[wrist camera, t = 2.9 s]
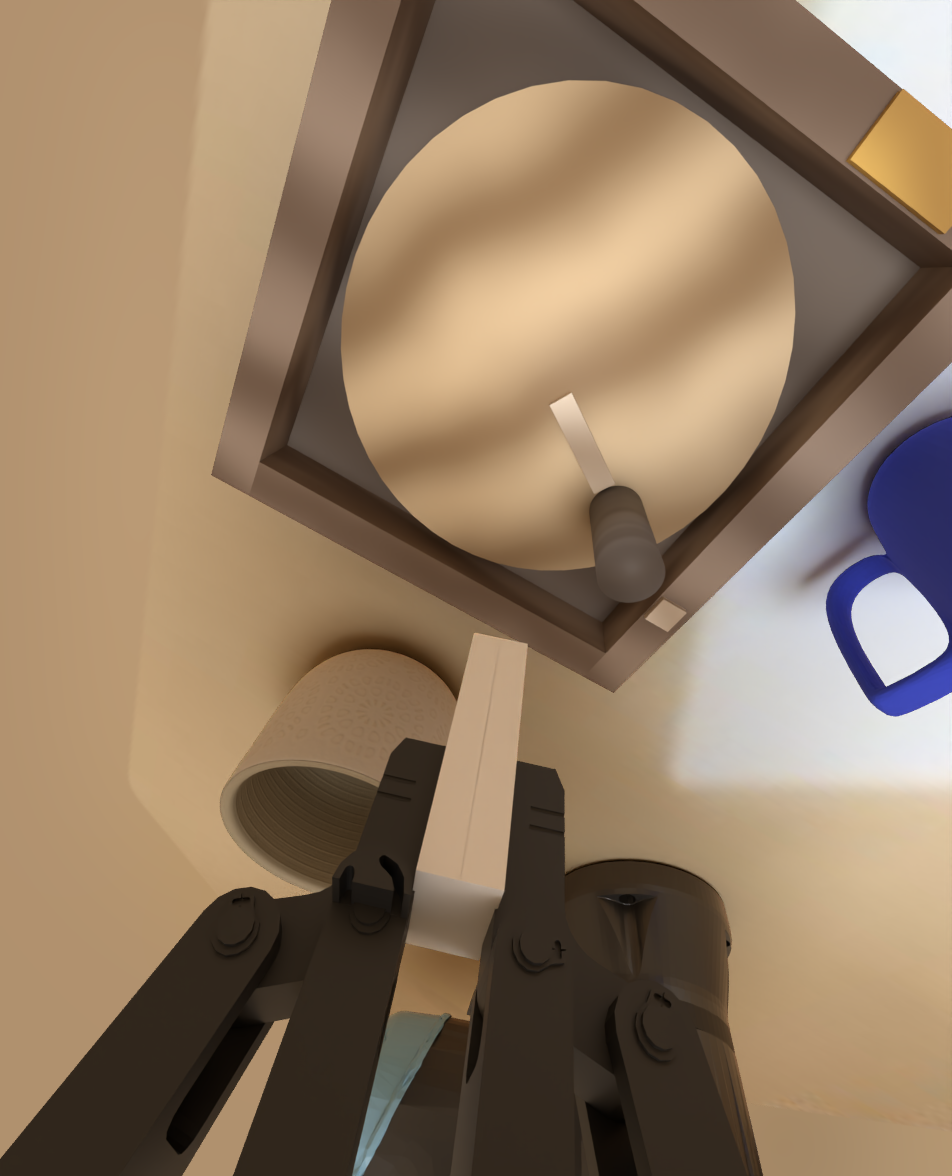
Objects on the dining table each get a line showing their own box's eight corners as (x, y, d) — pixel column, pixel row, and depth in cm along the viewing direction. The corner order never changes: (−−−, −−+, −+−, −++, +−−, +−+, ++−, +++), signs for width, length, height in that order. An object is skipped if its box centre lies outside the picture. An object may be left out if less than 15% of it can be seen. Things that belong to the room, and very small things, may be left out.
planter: (271, 670, 37) (173, 802, 27) (399, 596, 32) (332, 727, 22) (382, 775, 41) (329, 919, 32) (510, 724, 36) (492, 878, 27)
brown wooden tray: (608, 653, 32) (614, 696, 28) (248, 454, 28) (207, 477, 25) (999, 243, 19) (1088, 236, 16) (440, -206, 16) (408, -331, 12)
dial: (281, 291, 23) (155, 298, 16) (680, -45, 16) (772, -297, 9) (483, 596, 30) (459, 696, 23) (821, 449, 23) (937, 526, 16)
